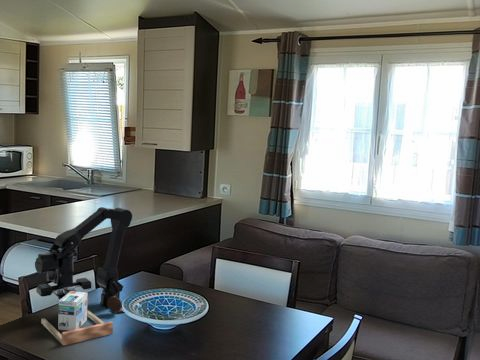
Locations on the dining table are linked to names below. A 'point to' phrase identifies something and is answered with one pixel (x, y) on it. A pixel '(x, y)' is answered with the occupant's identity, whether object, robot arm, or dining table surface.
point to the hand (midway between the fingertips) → (63, 308)
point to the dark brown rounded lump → (114, 304)
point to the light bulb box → (72, 311)
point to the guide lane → (81, 331)
